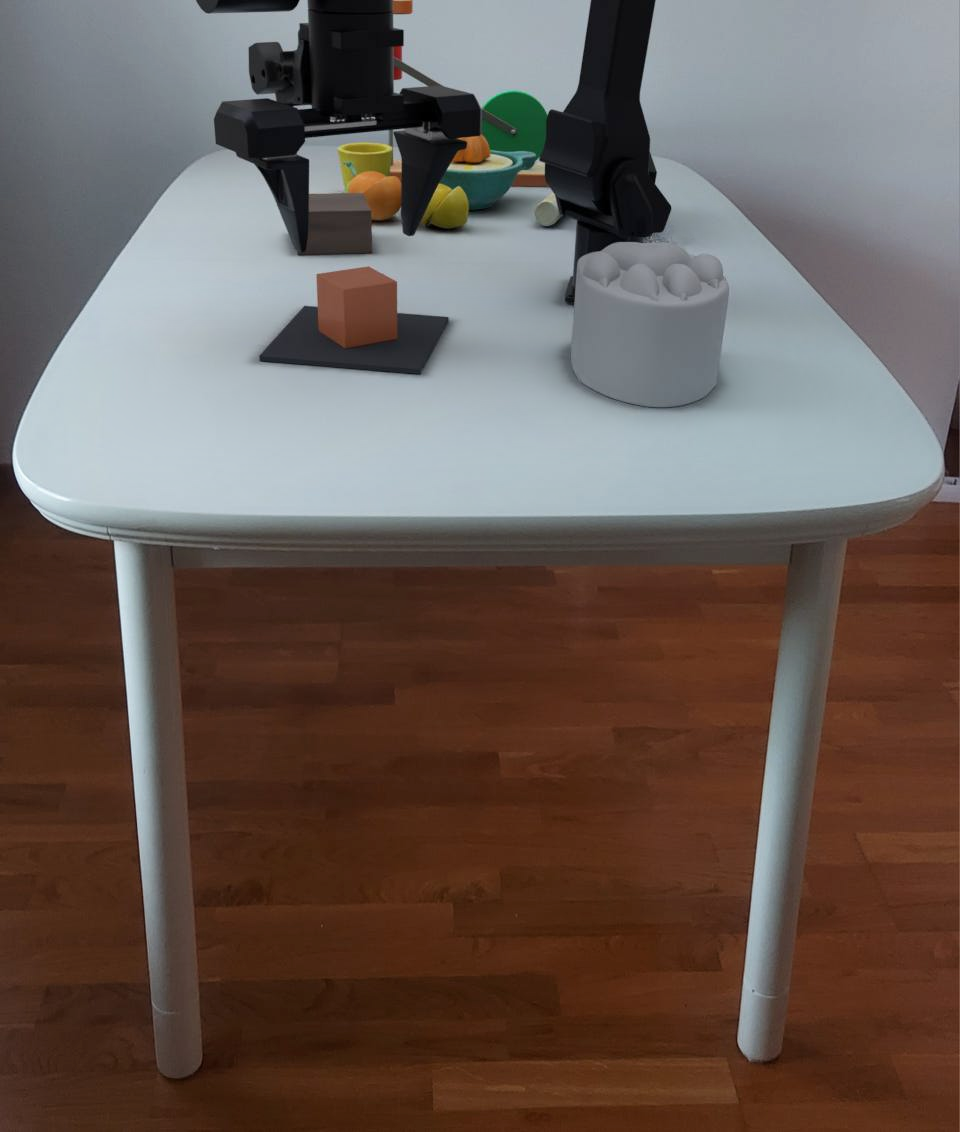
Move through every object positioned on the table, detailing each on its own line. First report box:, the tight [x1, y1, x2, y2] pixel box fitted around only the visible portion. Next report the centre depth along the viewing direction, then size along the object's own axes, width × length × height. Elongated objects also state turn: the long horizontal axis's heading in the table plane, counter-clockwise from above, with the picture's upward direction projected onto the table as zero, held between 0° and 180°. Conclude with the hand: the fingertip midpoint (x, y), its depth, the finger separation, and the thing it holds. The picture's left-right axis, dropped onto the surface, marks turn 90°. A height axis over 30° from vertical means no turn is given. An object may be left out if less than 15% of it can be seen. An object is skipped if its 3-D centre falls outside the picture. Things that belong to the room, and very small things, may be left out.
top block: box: [315, 266, 398, 348], centre depth 89 cm, size 4×4×4 cm
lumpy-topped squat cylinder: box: [570, 242, 730, 408], centre depth 84 cm, size 10×13×9 cm
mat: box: [258, 305, 450, 375], centre depth 90 cm, size 12×12×1 cm
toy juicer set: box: [337, 134, 563, 230], centre depth 124 cm, size 29×18×8 cm, turn 93°
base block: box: [296, 192, 373, 256], centre depth 113 cm, size 7×7×4 cm
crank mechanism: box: [387, 0, 550, 188], centre depth 135 cm, size 25×7×19 cm, turn 93°
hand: (355, 242), depth 87 cm, fingers open, 9 cm apart
